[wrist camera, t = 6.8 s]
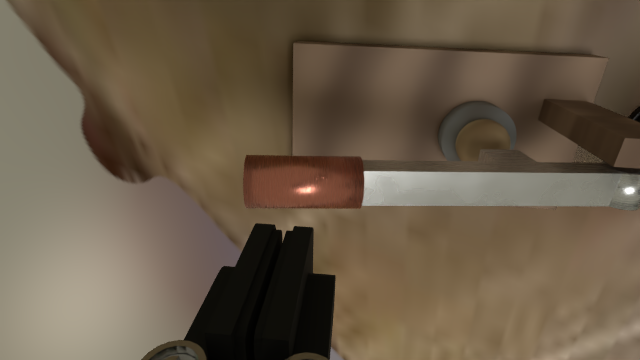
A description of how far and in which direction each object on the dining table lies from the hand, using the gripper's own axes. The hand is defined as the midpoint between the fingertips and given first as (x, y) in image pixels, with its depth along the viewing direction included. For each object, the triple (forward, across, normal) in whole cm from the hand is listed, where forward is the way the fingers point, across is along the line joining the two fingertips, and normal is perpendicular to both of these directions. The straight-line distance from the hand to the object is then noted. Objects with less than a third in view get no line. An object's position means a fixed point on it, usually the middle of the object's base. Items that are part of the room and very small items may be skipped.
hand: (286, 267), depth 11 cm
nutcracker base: (+22, -8, +2) cm, 23 cm away
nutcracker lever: (+13, -7, +2) cm, 15 cm away
